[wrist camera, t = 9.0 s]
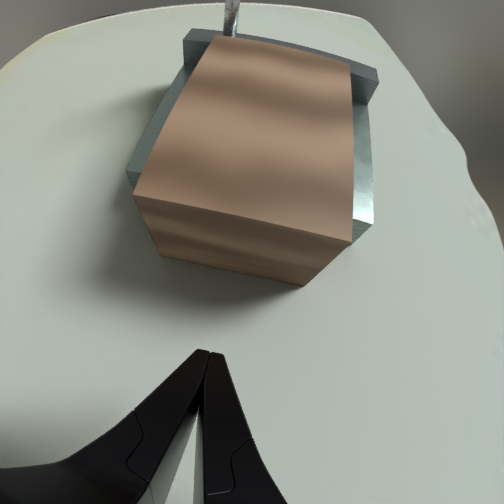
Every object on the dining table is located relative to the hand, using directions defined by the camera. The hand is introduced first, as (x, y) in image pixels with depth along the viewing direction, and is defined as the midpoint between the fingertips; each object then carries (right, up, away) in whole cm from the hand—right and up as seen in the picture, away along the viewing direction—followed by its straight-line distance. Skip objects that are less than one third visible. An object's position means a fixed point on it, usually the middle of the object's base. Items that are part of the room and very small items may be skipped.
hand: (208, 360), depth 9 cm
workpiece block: (+1, +9, +16) cm, 19 cm away
